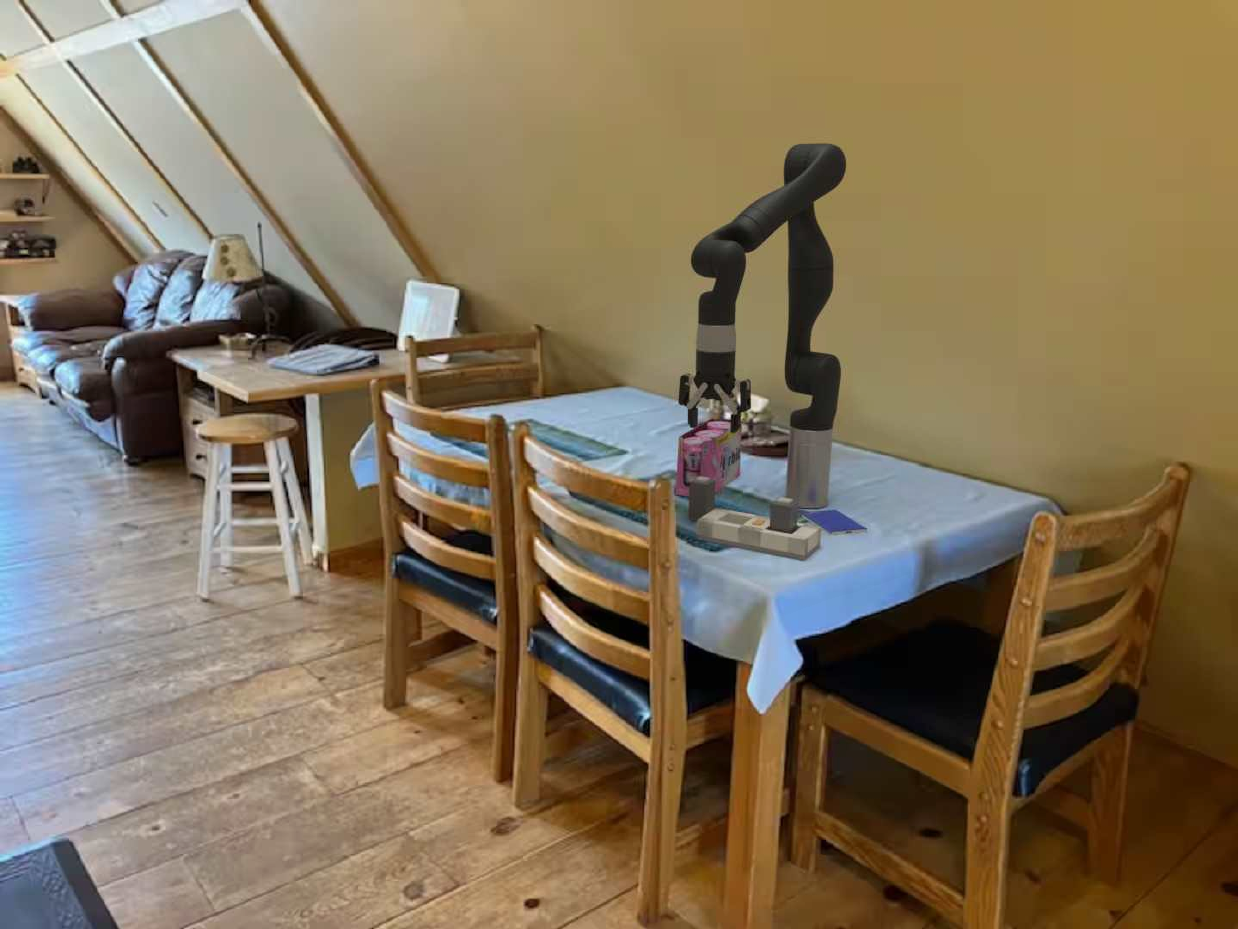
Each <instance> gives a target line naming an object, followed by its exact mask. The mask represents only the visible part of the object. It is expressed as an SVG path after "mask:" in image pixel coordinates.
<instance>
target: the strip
mask: <svg viewBox="0 0 1238 929" xmlns="http://www.w3.org/2000/svg"><path fill="white" fill-rule="evenodd" d="M769 529H770V517H769V516H765V515H757V514H753V513H746V512H740V511H736V510H732V509H731V510H730V509H725V508H720V507H716V508H714V510H712V511H711V512H709V513H708V514H706V515H704V516H703V517H701V518H699V519H698V520H697V521H696V540H699V541H703V540H704V541H705V542H709V543H713V544H720V545H723V546H730V547H734V548H737V549H738V548H739V549H744V550H749V551H754V552H759V553H764V554H768V555H773V556H774V555H775V556H779V557H783V558H788V559H794V560H799V561H805V560H806V559H808V557H810V556H811V555H813V553H814V552H816V551H817V550H818V549H819V548H820V547H821V536H822V530H821V527H820V526H815V525H814V524H808V523H803V522H798V521H797V530H796V531H795V532H794V533H793V534H788V533H782V532H777V531H772V530H769Z"/></svg>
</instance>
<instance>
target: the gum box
mask: <svg viewBox="0 0 1238 929" xmlns="http://www.w3.org/2000/svg"><path fill="white" fill-rule="evenodd" d="M730 424H731V419H726V418H718V417H717V418H716V417H712V418H710V419H708V420H706V421H704V422H703V423H701V424H699V425H698V426H697V427H695V428H691V429H690V430H688V431H686V432H685V433H682V434H681V435H679V436H678V447H677V461H676V462H677V463H676V464H677V465H676V479H675V480H676V482H675V495H677V496H682V497H687V498H689V484H690V482H691V481H693V480H694V479H696V478H698V477H699V476H701V477H707V478H710V480H715V494H716V493H718V492H720V491H721V490H723V488H725V487H727V486H728V485H729V484H731V483H732V482H734V481H735V480H736V479H737V478H739V477H740V476H741V474H740V473H741V457H742V456H741V455H742V450H741V449H742V431H743V429H742V428H743V421H742V420H741V427H740V429H739V430H738V431H737V432H736V433H731V432H730Z"/></svg>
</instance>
